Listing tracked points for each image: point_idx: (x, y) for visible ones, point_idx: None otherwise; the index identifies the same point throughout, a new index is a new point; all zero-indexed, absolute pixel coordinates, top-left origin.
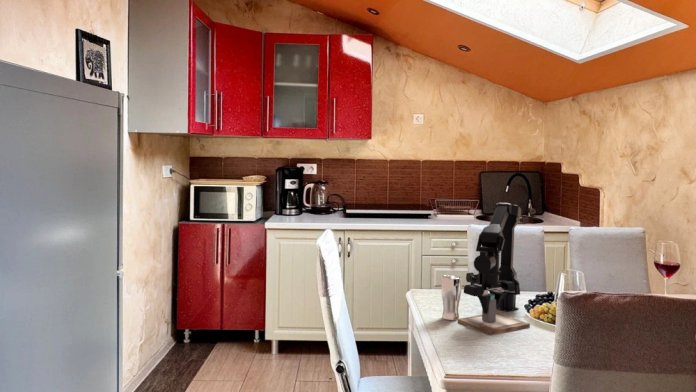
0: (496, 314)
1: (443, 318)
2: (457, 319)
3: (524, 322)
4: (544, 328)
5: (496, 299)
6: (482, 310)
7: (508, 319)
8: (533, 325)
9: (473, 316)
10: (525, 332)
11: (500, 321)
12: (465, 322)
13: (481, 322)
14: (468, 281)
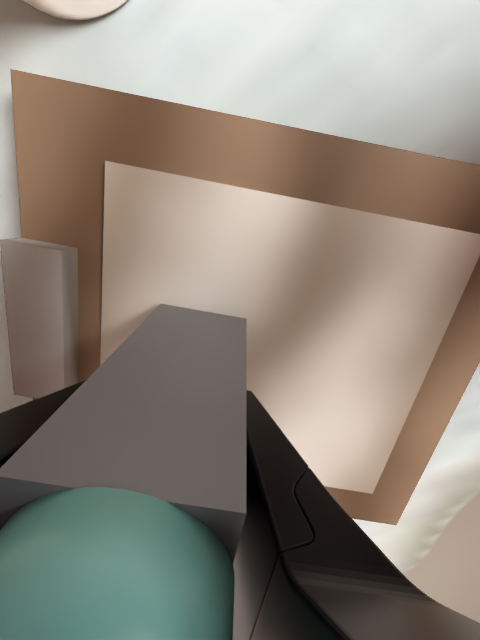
0: (463, 254)
1: None
2: (78, 16)
3: (400, 495)
4: (423, 550)
5: (235, 637)
6: (124, 344)
7: (379, 408)
8: (441, 497)
9: (234, 124)
10: None
11: (278, 401)
12: (25, 207)
13: (63, 374)
14: None
